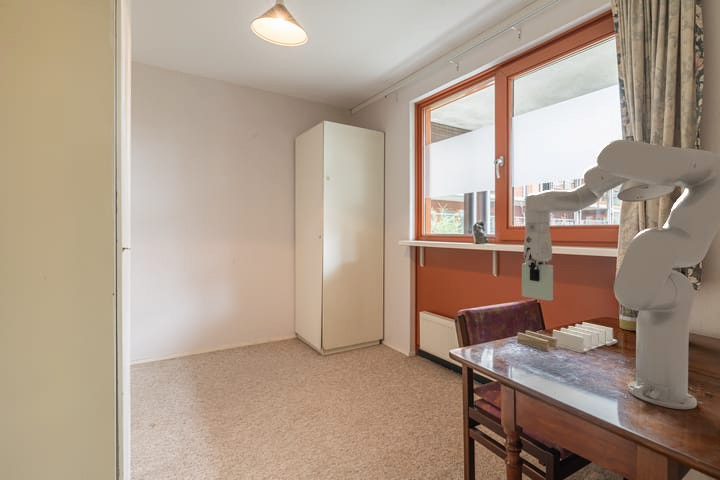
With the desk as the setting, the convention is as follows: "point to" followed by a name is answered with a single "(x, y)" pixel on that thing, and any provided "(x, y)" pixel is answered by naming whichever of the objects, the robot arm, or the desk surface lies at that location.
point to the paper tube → (628, 318)
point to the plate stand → (537, 340)
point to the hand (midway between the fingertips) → (537, 279)
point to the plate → (538, 282)
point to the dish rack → (584, 337)
